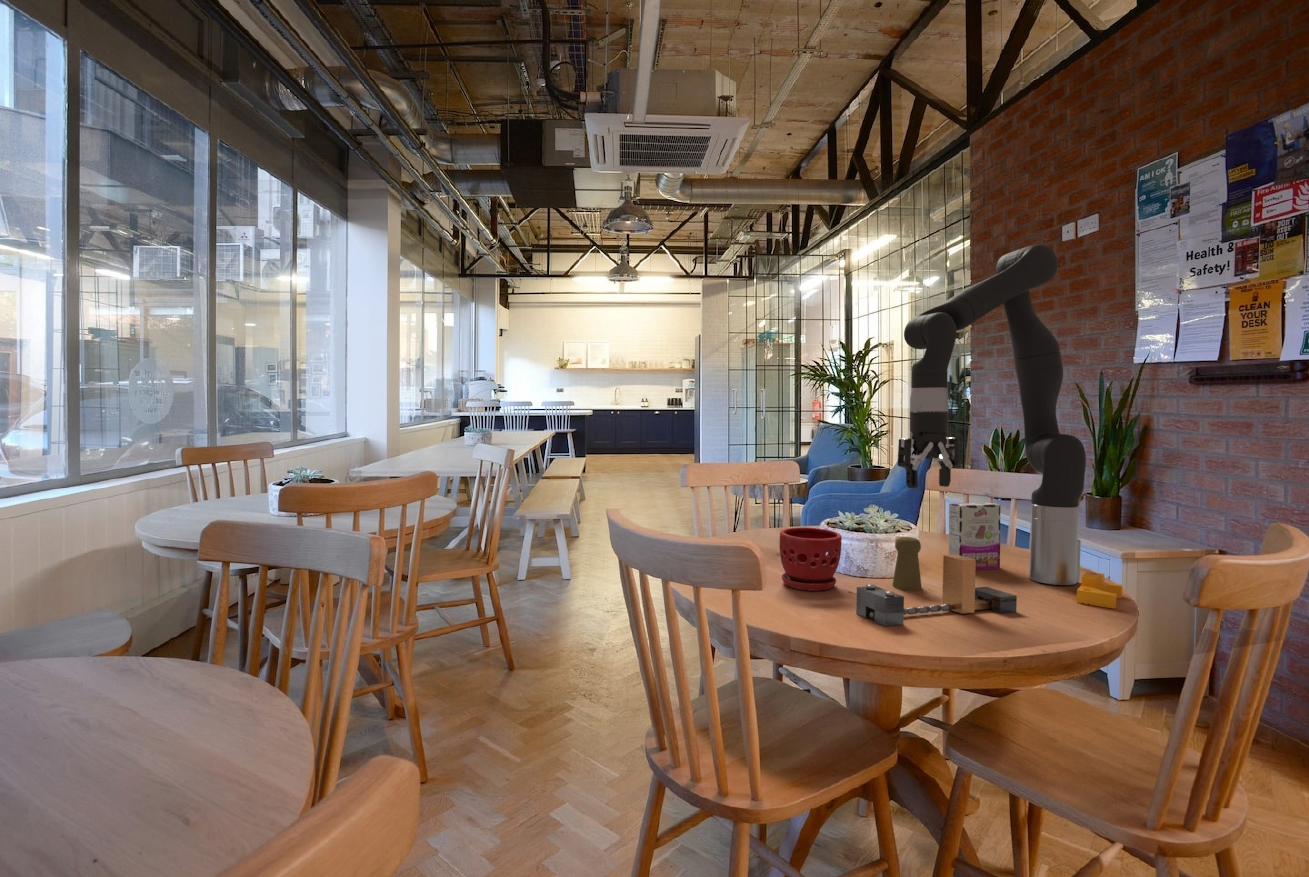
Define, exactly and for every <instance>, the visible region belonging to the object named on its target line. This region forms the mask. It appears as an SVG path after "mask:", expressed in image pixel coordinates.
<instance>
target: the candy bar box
mask: <svg viewBox="0 0 1309 877" xmlns="http://www.w3.org/2000/svg"><path fill="white" fill-rule="evenodd" d="M948 555H960V556H964V557H968V558H971V559H975V560H976V570H977V571H978V570H993V569H997V570H998V569H1000V568H1001V504H999V503H998V504H997V503H995V502H994V503H993V502H966V503H965V502H964V503H962V502H961V503H949V504H948ZM976 570H975V571H976Z"/></svg>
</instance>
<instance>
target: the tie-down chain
mask: <svg viewBox="0 0 1309 877" xmlns="http://www.w3.org/2000/svg"><path fill="white" fill-rule="evenodd" d="M942 556H943V557H942V558H943V560H942V562H943V563H942V564H943V566H942V569H943V570H942V600H941V601H942V602H941V605H939V604H935V605H930V606H928V605H925V606H917V607H915V606H913V607H907V608H904V616H905V615H916V614H926V613H939V612H949V611H952V612H953V611H954V612H956V613H959V614H962V615H963V614H972V613H975V611H979V610H988V609H990V610H991V609H992V600H991V599H988V598H987V599H977V600H975V588H976V560H975V559H971V558H968V557H964V556H960V555H949V554H946V555H942ZM870 618H872V619H875V611H872V612H870Z"/></svg>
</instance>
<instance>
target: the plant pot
mask: <svg viewBox="0 0 1309 877" xmlns="http://www.w3.org/2000/svg"><path fill="white" fill-rule="evenodd" d="M779 554H780V562H781V566H782V568H783V570H784V573H783V574H782V575H781V580H782V582H783V583H784V584H785V585H787V586H788V587H790V588H793V589H796V590H800V591H806V590H808V591H809V592H817V591H819V592H820V591H821V590H822V591H827V590H830V589H832V588H833V587H834V586H835V585H836V583H837V578H836V577H835V576H834V575H835V573H836V572H837V569H838V567H839V563H840V559H841V554H842V534H840V532H837V531H834V530H829V529H826V528H817V527H805V526H804V527H789V528H785V529H782V530H780V532H779ZM808 591H807V592H808Z"/></svg>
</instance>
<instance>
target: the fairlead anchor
mask: <svg viewBox="0 0 1309 877" xmlns="http://www.w3.org/2000/svg"><path fill="white" fill-rule="evenodd" d="M855 606H856V608H855V610H856V611H855V612H856V613H855V614H856V615H858V616H861V617H862V618H864V619H865V618H866V619H868V618H869V619H870V618H871V617H870V612H872V611H875V618H874V623H876V624H878V625H880V626H883V627H892V626H900V625H902V626H903V625H904V617H905V615H904V609H905V596H904V595H901V594H898V593H896V592H895V591H891V590H887V589H885V588H881V587H880V586H876V585H875V584H872V583H866V584H865V586H856V605H855Z"/></svg>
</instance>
